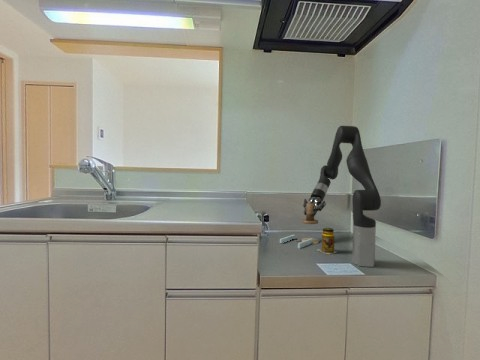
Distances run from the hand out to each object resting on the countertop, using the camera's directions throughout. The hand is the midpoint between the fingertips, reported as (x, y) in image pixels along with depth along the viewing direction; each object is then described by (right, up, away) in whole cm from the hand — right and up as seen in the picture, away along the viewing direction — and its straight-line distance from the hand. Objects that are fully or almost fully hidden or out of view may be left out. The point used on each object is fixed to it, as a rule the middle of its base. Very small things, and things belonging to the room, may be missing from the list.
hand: (308, 214), depth 156 cm
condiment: (+5, -17, -16) cm, 24 cm away
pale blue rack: (-7, -16, -1) cm, 18 cm away
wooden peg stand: (+1, -5, +1) cm, 5 cm away
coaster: (+1, -16, +2) cm, 16 cm away
